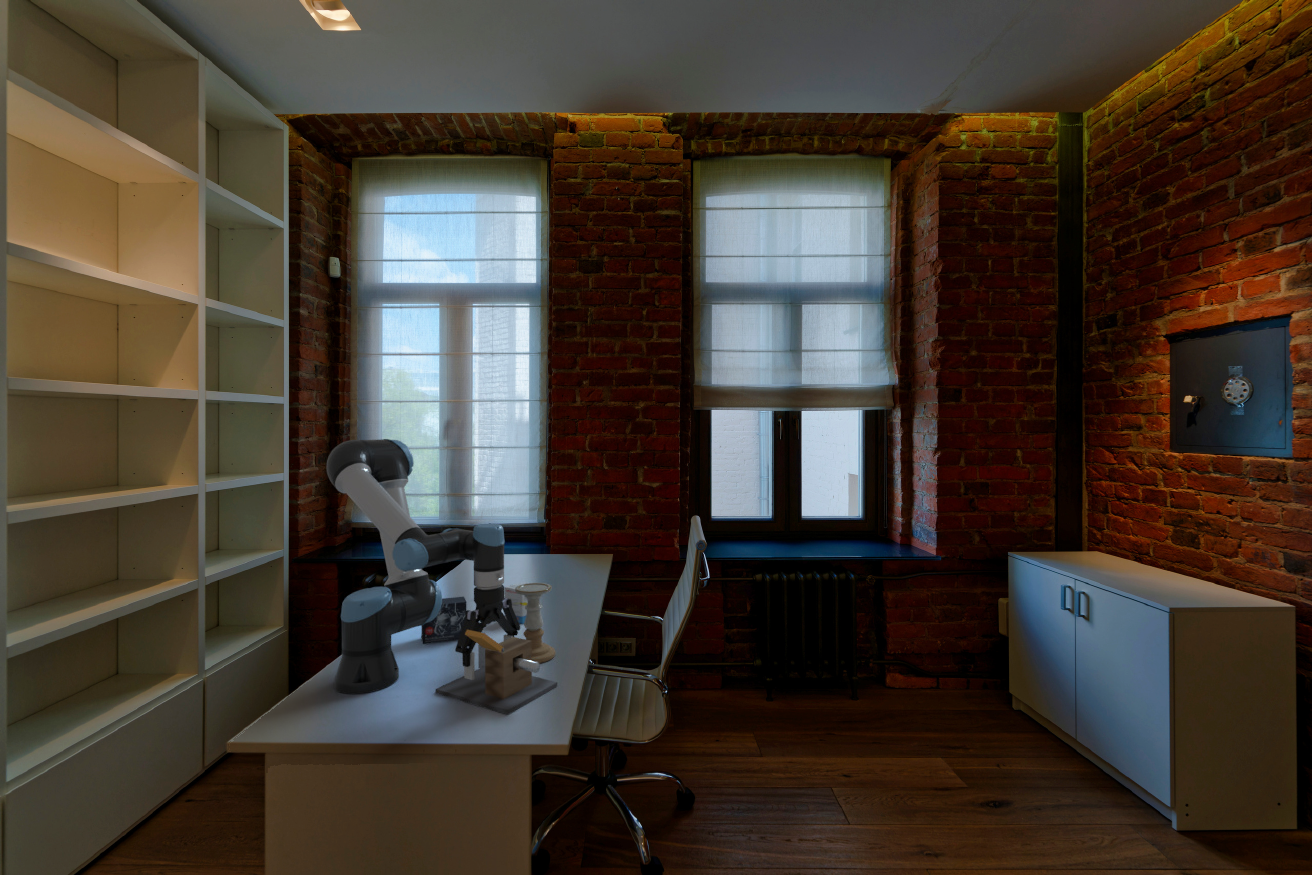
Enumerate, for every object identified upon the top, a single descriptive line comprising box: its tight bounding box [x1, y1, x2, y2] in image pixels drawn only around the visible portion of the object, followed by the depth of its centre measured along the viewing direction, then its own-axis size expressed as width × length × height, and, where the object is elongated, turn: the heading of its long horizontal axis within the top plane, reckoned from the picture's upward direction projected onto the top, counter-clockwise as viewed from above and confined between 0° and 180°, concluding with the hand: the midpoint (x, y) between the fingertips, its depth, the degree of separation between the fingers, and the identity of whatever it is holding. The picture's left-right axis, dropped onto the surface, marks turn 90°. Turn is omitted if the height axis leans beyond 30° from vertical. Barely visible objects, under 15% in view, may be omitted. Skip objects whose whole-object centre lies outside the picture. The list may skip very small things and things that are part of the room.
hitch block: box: [434, 636, 558, 716], centre depth 154 cm, size 24×18×12 cm
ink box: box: [504, 581, 528, 625], centre depth 212 cm, size 9×8×12 cm
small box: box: [420, 596, 467, 645], centre depth 192 cm, size 13×7×12 cm, turn 114°
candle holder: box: [515, 582, 556, 664], centre depth 177 cm, size 12×12×20 cm
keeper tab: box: [465, 630, 504, 652], centre depth 145 cm, size 6×9×1 cm
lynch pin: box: [477, 643, 541, 674], centre depth 152 cm, size 18×5×6 cm, turn 60°
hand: (489, 668), depth 155 cm, fingers open, 13 cm apart
